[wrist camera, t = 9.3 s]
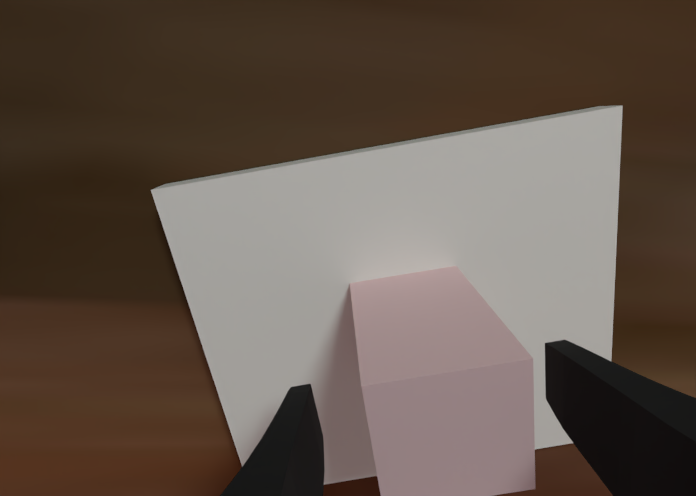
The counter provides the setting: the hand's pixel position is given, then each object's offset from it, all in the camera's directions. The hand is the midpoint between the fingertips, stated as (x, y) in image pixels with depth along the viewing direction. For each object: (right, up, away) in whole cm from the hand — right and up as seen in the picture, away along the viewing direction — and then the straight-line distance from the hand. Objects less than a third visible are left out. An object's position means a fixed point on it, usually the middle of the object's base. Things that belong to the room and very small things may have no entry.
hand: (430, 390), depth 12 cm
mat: (0, +1, +5) cm, 5 cm away
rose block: (0, +1, +3) cm, 4 cm away
